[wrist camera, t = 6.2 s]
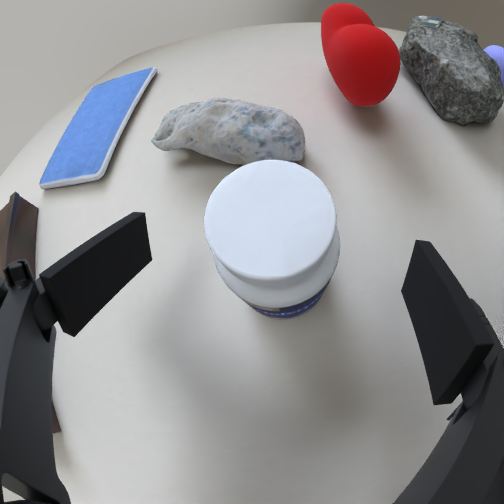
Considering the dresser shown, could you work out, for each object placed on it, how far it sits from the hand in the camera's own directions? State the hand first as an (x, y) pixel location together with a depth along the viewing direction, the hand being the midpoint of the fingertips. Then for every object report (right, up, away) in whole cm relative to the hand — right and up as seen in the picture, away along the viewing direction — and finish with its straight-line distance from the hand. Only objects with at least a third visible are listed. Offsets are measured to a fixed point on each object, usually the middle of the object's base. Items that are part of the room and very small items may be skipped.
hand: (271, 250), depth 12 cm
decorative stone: (-3, +9, +11) cm, 15 cm away
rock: (+23, +21, +10) cm, 33 cm away
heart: (+9, +15, +11) cm, 21 cm away
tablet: (-21, +16, +16) cm, 31 cm away
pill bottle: (+1, -2, +6) cm, 7 cm away
